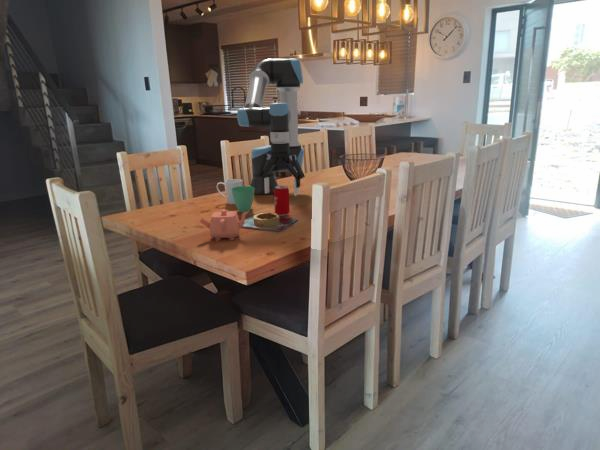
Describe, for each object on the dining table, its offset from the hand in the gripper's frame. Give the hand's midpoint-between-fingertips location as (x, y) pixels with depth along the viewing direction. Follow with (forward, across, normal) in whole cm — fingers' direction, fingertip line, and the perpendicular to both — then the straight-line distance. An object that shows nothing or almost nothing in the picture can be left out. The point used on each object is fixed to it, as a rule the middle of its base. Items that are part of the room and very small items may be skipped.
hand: (281, 194), depth 183 cm
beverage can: (+9, 0, 0) cm, 9 cm away
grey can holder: (+9, 0, -14) cm, 16 cm away
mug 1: (+9, -32, +10) cm, 35 cm away
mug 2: (+9, -19, +2) cm, 21 cm away
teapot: (+10, -6, -34) cm, 35 cm away
